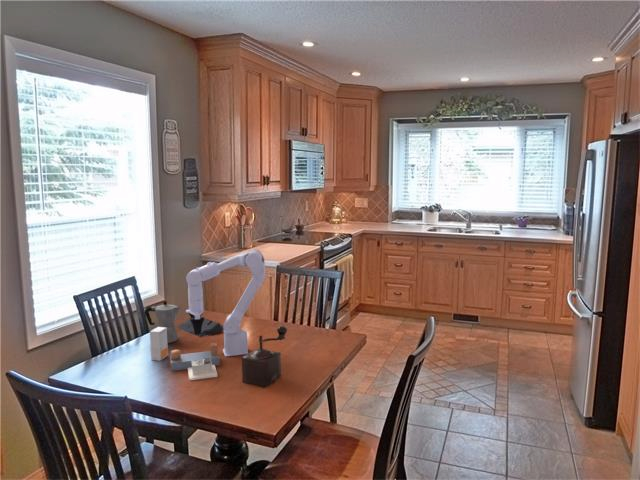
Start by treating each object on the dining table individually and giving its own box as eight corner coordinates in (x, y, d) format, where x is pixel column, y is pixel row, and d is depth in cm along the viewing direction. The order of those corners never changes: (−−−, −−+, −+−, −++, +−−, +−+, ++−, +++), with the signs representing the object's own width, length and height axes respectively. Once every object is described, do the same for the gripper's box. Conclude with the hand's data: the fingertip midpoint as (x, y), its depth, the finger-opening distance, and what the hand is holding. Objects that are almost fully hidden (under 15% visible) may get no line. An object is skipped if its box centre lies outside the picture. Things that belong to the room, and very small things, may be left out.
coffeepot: (182, 335, 222) (181, 297, 220) (181, 342, 213) (179, 302, 211) (147, 337, 219) (145, 299, 216) (144, 345, 210) (142, 305, 207)
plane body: (217, 357, 196) (216, 340, 195) (219, 364, 188) (218, 347, 187) (170, 362, 190) (169, 345, 189) (171, 370, 183) (170, 353, 182)
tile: (214, 366, 187) (214, 364, 187) (217, 376, 177) (217, 374, 177) (187, 369, 184) (187, 367, 184) (189, 380, 174) (189, 378, 174)
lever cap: (210, 367, 184) (210, 357, 183) (212, 372, 179) (211, 361, 179) (191, 369, 182) (191, 359, 181) (192, 375, 177) (192, 364, 176)
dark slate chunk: (201, 321, 244) (200, 312, 244) (229, 330, 230) (228, 320, 230) (174, 328, 233) (174, 319, 232) (202, 339, 219) (201, 328, 218)
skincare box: (160, 361, 192) (159, 332, 191) (151, 360, 193) (149, 331, 192) (168, 355, 198) (167, 327, 197) (159, 354, 199) (157, 326, 197)
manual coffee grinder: (267, 388, 168) (266, 338, 165) (241, 382, 173) (240, 333, 170) (290, 371, 181) (289, 325, 179) (265, 366, 186) (264, 321, 184)
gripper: (184, 295, 203) (186, 326, 205) (186, 304, 189) (188, 338, 191) (201, 294, 205) (203, 325, 207) (204, 303, 191) (206, 336, 193)
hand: (197, 331), depth 199 cm, fingers open, 7 cm apart
